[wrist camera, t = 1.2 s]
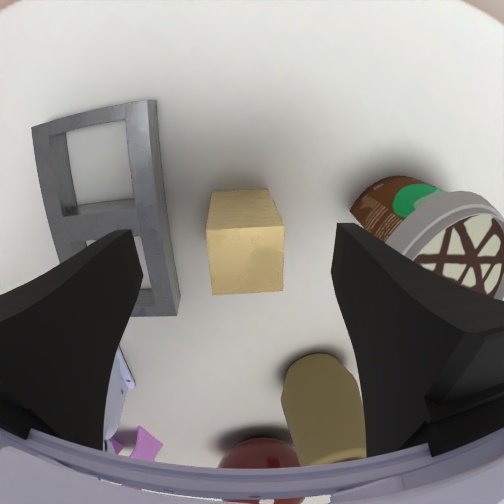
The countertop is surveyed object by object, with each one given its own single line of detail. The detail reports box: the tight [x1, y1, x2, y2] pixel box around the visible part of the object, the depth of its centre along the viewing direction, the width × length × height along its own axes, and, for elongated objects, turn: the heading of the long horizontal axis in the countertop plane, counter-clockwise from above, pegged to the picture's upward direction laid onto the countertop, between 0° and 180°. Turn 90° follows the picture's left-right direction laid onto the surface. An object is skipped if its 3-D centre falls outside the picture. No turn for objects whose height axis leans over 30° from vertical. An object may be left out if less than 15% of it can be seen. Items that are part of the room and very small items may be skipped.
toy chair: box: [108, 426, 163, 490], centre depth 31 cm, size 8×9×15 cm
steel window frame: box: [31, 100, 181, 317], centre depth 20 cm, size 16×9×2 cm, turn 1°
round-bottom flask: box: [217, 437, 305, 504], centre depth 30 cm, size 13×13×20 cm
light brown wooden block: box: [206, 189, 285, 295], centre depth 19 cm, size 4×4×7 cm
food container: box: [350, 176, 504, 300], centre depth 18 cm, size 12×6×10 cm, turn 67°
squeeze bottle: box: [281, 353, 366, 496], centre depth 23 cm, size 8×8×18 cm
